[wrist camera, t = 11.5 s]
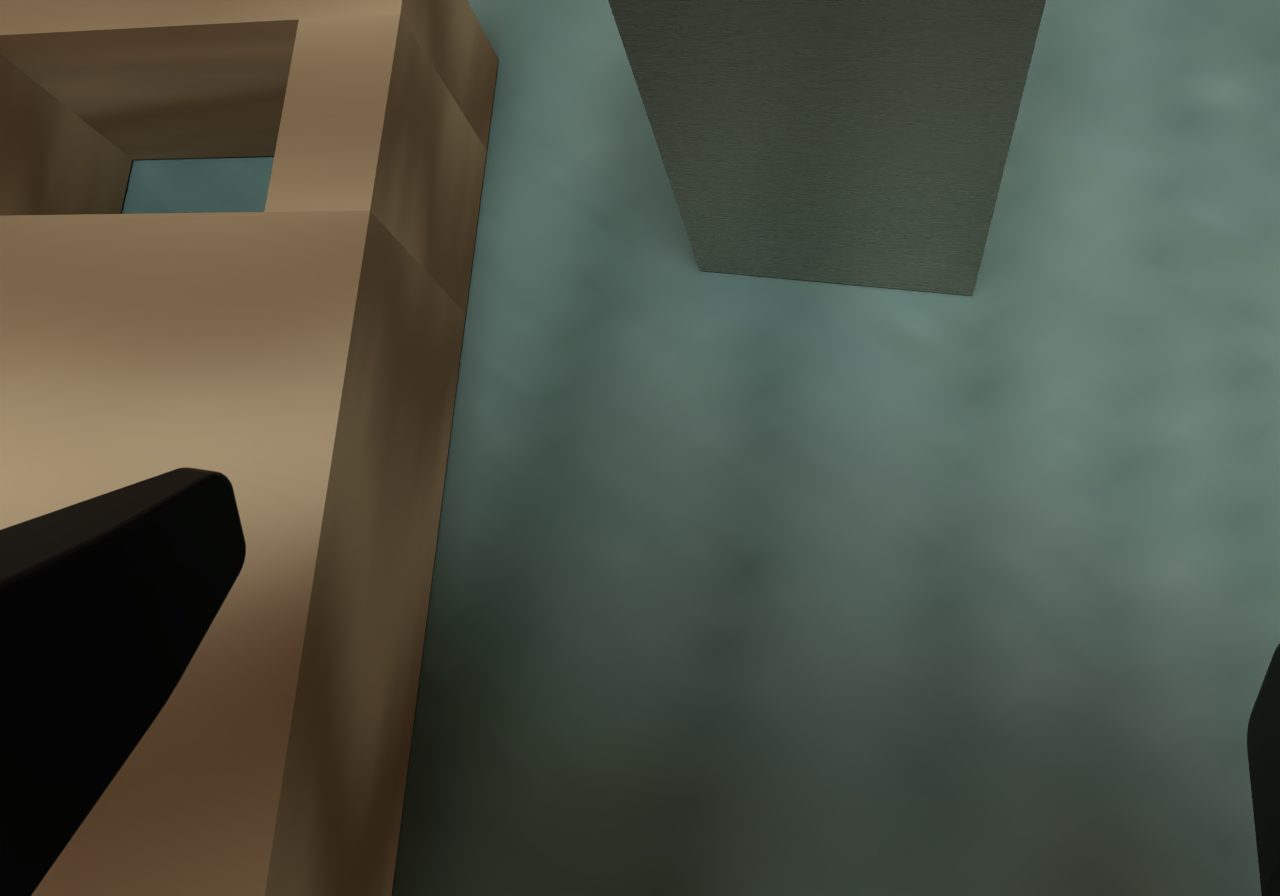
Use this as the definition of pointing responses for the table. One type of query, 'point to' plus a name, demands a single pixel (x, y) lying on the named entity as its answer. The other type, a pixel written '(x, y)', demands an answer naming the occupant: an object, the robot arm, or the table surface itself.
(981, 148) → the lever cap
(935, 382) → the table surface
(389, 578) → the hand plane
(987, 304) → the table surface
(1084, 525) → the table surface
